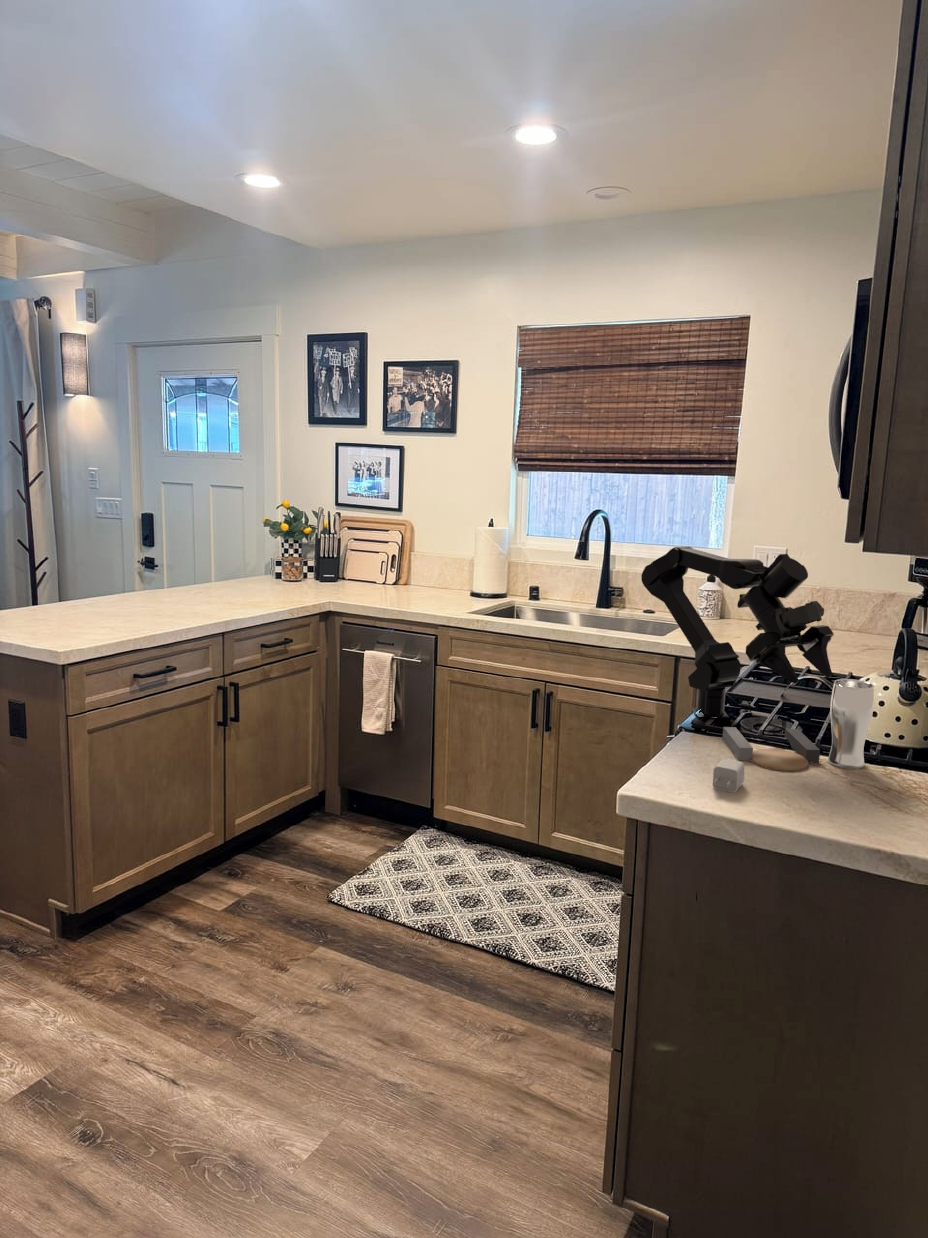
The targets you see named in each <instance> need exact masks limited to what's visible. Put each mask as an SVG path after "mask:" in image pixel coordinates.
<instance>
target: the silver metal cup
mask: <svg viewBox="0 0 928 1238" xmlns="http://www.w3.org/2000/svg"><path fill="white" fill-rule="evenodd" d="M830 697H831V698H830V708H829V709H830V710H829V712H830V713H829V714H830V726H831V729H830V730H831V747H830V751H829V755H828V758H827V762H828V763H829V764H830V765H832V766H834V767H837V768H840V769H844V770H845V769H846V770H861V769H863V768H864V767H865V758H864V757H865V755H864V747H865V742H866V739H867V736H868V732H869V729H870V726H871V723H872V718H873V714H874V713H873V712H874V705H875V701H874V700H875V699H874V698H875V685H874V684H873V683H871V682H869V681H865V680H859V679H853V678H852V679H851V678H841V679H836V680H834V681H833V686H832V692H831V696H830Z"/></svg>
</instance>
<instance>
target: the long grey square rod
mask: <svg viewBox="0 0 928 1238" xmlns="http://www.w3.org/2000/svg"><path fill="white" fill-rule="evenodd" d="M785 737H786V738H787V739H788V740H789V742H790V745H791V747H790V748H791V749H792V750H793V751H794V753H797V754H799V755H802V756H803V757H804V758H805V759H807V760H808V763H820V758H821V757H820V755H821V749H820V748H819V747H818V746H817V745H816V744H814V743H813V742H812V741H811V740H810V739H809V738H808V737H807V735H805V734H804V733H803V732H802V731H801V730H800V729H798V728H785V730H784V738H785Z"/></svg>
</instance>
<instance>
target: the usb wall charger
mask: <svg viewBox="0 0 928 1238" xmlns="http://www.w3.org/2000/svg"><path fill="white" fill-rule="evenodd" d="M745 768H746V766H745V764H744V762H742V761H740V760H733V759H728V758H722V759H721V760H720V761H719V762H718V763H717V764H716V765H715V766H714V768H713V773H712V774H713V775H712V787H713V788H714V789H715V790H719V791H724V792H725V791H726V792H728V793H736V792H737V791H738V789H739V788H740V787H741V786H742V784H743V783H744V779H745Z"/></svg>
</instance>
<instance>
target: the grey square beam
mask: <svg viewBox="0 0 928 1238" xmlns="http://www.w3.org/2000/svg"><path fill="white" fill-rule="evenodd" d="M721 739H722V740H723V741H724V743H725V744H726V746H728V748H729V749H730V751H731V752H732V753H733V754H734V755H733V756H735V758H736V759H737V761H749V762H750V761H751V757H752V754H753V751H754V747H753V746H752V745H751V744H750V742H749V741H748V740H747V739H746V737H744V736H743V734H742V733H741V732H740V730H739V729H737V727H736V726H735V727H733V726H723V727H722V737H721ZM751 762H752V761H751Z"/></svg>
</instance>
